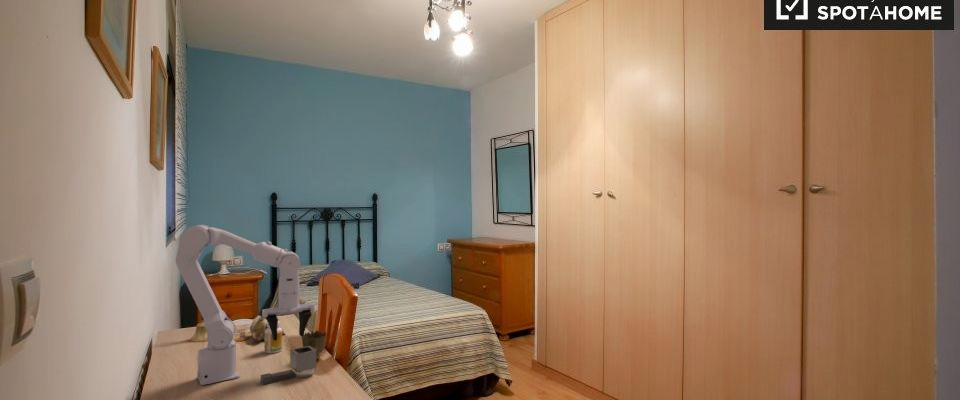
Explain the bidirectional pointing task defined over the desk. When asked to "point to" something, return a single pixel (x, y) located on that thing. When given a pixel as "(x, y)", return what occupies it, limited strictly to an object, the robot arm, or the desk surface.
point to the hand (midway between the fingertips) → (288, 337)
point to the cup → (315, 341)
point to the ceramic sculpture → (259, 328)
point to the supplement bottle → (270, 344)
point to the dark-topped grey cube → (303, 358)
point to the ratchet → (285, 375)
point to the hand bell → (200, 332)
